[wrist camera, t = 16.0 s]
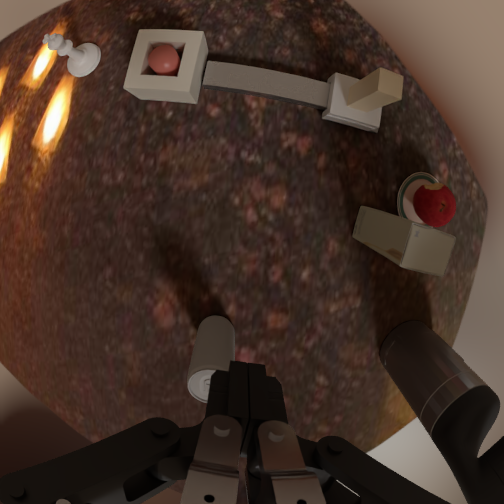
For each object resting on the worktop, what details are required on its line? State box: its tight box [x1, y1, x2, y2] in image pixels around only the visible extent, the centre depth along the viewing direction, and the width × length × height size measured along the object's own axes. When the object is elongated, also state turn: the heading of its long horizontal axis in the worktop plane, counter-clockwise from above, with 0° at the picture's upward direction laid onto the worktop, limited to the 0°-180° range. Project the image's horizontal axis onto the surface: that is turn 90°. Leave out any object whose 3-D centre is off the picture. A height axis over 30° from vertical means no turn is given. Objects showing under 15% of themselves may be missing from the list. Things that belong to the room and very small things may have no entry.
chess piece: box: [43, 33, 101, 77], centre depth 25 cm, size 5×5×10 cm
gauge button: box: [148, 45, 181, 77], centre depth 28 cm, size 3×3×5 cm
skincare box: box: [352, 206, 456, 276], centre depth 31 cm, size 6×4×12 cm
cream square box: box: [124, 29, 208, 104], centre depth 28 cm, size 7×7×6 cm
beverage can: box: [187, 315, 235, 403], centre depth 34 cm, size 5×5×12 cm
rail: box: [203, 61, 378, 133], centre depth 31 cm, size 21×5×2 cm, turn 80°
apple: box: [397, 172, 456, 228], centre depth 34 cm, size 8×8×6 cm
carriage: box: [322, 67, 403, 131], centre depth 27 cm, size 6×5×11 cm
